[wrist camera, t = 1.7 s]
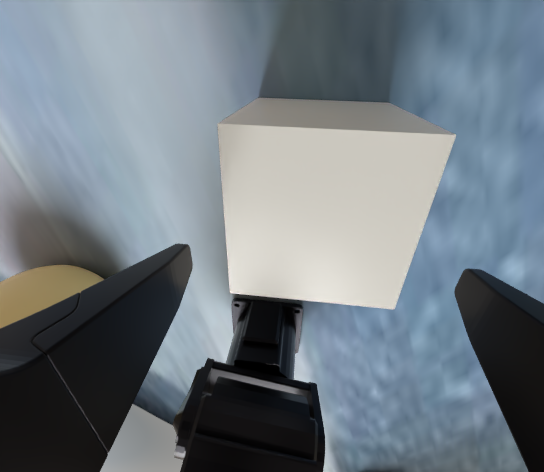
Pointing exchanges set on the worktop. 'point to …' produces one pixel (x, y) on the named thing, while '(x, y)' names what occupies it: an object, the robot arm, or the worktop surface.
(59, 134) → the worktop surface
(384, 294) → the chalk-white cube
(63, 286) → the pale yellow rounded lump
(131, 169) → the worktop surface
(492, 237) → the worktop surface
